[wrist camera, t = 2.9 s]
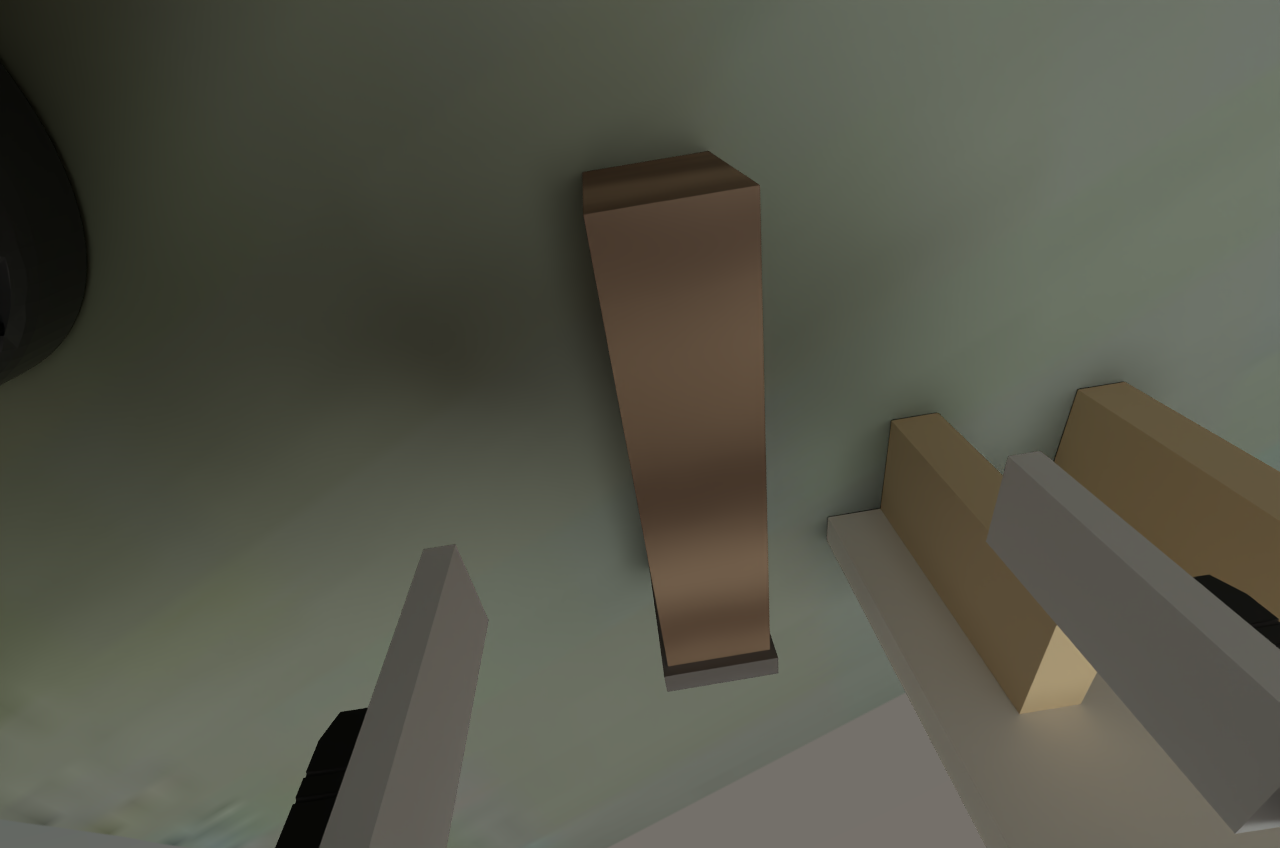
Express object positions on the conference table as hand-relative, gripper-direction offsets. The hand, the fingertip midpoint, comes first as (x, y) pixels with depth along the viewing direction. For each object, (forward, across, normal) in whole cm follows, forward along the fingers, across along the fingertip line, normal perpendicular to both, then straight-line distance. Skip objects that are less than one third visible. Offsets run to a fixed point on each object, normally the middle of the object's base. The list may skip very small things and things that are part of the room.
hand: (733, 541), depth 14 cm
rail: (+9, 0, -2) cm, 10 cm away
